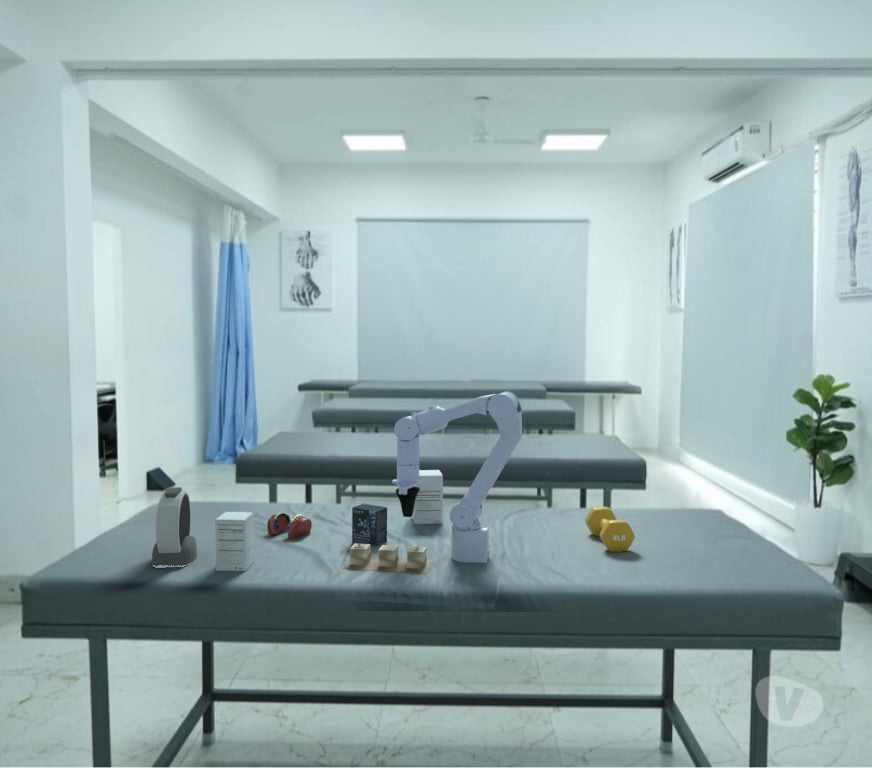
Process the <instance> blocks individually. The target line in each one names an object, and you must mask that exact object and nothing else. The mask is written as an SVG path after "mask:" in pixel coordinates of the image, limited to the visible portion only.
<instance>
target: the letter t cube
mask: <svg viewBox="0 0 872 768" xmlns="http://www.w3.org/2000/svg"><path fill="white" fill-rule="evenodd" d="M349 551H350V553H349V554H350V555H349V556H350V558H349V561H350V565H367V564H368V563H369V561H370V556H371V546H370V544H358V543H353V545H352V546H351V547H350V548H349Z"/></svg>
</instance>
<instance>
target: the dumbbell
mask: <svg viewBox="0 0 872 768" xmlns="http://www.w3.org/2000/svg"><path fill="white" fill-rule="evenodd" d="M584 521H585V525H586V527H587V528H588V530H589V532H590V533H591V534H592V535H593V536H595V537H599V538H600V540H601V542H602V543H603V545H604V546H605V548H606V549H607V551H609V552H610V553H624V552H623V551H625V552H627V551H628V550H629V549H631V546H632V544H633V542H634V541H635V537H636V535H635V533H634V531H633V529H632V527H631V526H630V524H629V523H628V522H627V521H626V520H624V519H617V518H616V514H614V512H613V510H612V509H611V508H610V507H608V506H593V507H592V508H591V509H590V510H589V512H588V513H587V515H586V517H585V519H584Z"/></svg>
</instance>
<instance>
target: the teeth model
mask: <svg viewBox="0 0 872 768" xmlns="http://www.w3.org/2000/svg"><path fill="white" fill-rule="evenodd" d="M312 523H313V522H312V520H311V519H310V518H308V517H306V516H305V515H304V514H301V513H298V514H296V515H294V516H293V517H292V518H290V515H288V514H287V513H284V512H281V513H278V514H273V515H271V516H270V518H269V519H268V520H267V525H266V527H267V534H268V536H269V535H270V536H271V537H272V536H274V535H276V534H278V533H281V532H283V531H284V532H286V533H287V537H288V539H289V540H294V539H297V538H300V537H302V536H304V535H307V534H309V533H311V531H312V526H313V524H312ZM270 536H269V537H270Z"/></svg>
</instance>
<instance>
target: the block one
mask: <svg viewBox="0 0 872 768" xmlns="http://www.w3.org/2000/svg"><path fill="white" fill-rule="evenodd" d="M406 553H407V554H406V558H407V568H419V569H424V567H425V565H426V559H427V546H426V547H425V546H409V548H408V549H407V550H406Z"/></svg>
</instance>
